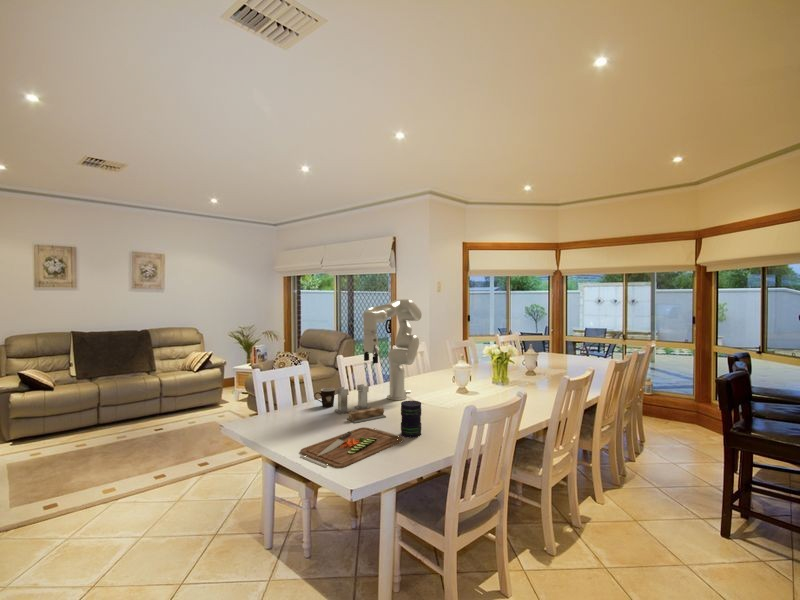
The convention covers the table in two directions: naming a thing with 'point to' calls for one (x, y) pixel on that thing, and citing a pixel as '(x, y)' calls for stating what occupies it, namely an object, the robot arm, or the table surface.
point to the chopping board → (350, 447)
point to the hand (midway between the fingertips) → (370, 361)
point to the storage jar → (411, 419)
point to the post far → (362, 397)
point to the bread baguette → (366, 413)
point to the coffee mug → (327, 397)
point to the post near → (342, 400)
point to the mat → (367, 419)
